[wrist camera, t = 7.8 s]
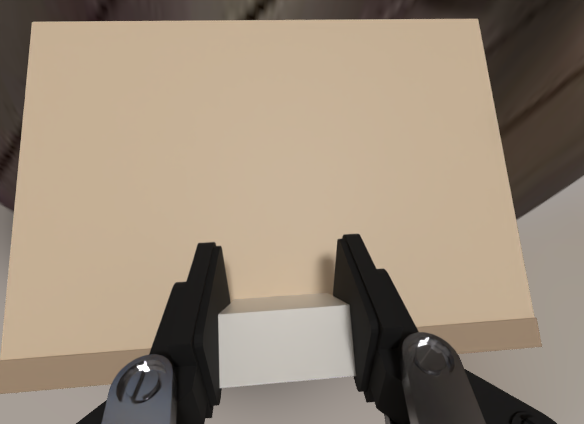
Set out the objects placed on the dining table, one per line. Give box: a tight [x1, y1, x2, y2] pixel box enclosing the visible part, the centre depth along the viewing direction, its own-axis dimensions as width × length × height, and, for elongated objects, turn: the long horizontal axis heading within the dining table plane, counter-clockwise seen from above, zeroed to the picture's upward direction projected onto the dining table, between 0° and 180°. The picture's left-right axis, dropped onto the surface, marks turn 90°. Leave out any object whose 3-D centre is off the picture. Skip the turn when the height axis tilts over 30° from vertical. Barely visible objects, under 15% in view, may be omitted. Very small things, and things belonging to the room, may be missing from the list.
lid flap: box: [0, 19, 542, 394], centre depth 12 cm, size 22×16×5 cm
